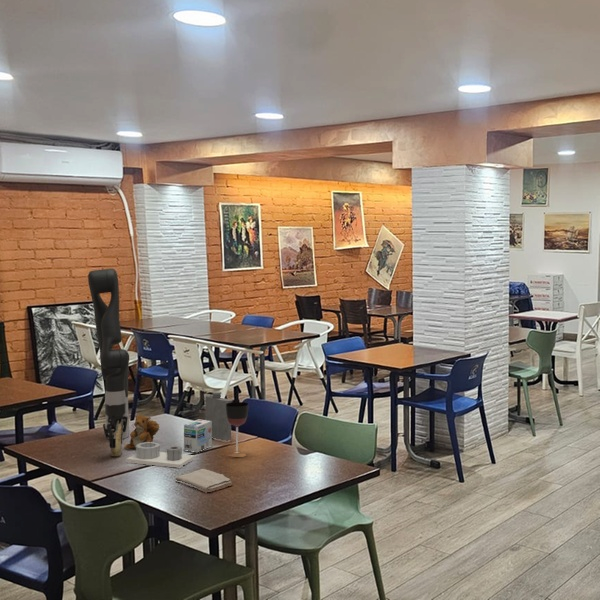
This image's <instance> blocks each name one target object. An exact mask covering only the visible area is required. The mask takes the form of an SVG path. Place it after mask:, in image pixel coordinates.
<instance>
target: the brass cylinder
mask: <svg viewBox="0 0 600 600" xmlns="http://www.w3.org/2000/svg"><path fill="white" fill-rule="evenodd" d="M111 430H115V429H111ZM112 435H113V432H112ZM115 438H116V447H115V448H110V456H111V457H119V456H121V455H122V445H121V423H119V425H118V430H117V432H116V437H115Z"/></svg>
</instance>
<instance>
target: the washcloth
mask: <svg viewBox="0 0 600 600" xmlns="http://www.w3.org/2000/svg"><path fill="white" fill-rule="evenodd" d="M174 480H177V481H182V482H185V483H188V484H191V485H193V486H196V487H198V488H201V489H204V490H209V489H213V488H217V487H220V486H223V485H225V484H229V483H231V484H233V483H232V482H233V481H231V478H228V477H226V476H225V475H224V474H222V473H218V472H215V471H213V470H209V469H206V468H201V469H197V470H195V471H192V472H190V473H185V474H182V475H181V474H180V475H178V476H176V477H175V479H174Z"/></svg>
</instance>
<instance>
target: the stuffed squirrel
mask: <svg viewBox="0 0 600 600" xmlns="http://www.w3.org/2000/svg"><path fill="white" fill-rule="evenodd" d="M151 418H152V417H151V416H145V415H141V414H140V415H138V414H136V415H135V421H134V422H133V424H131V427H132V428H133V429H134V430H133V431H131V432H130V433H129V436H130V440H129V443H127V444H125V446H124V449H125V450H132V449H136V445H137V444H139V443H144V442H154V438H155V437H154V436H156V434H158V431H160V424H159V423H158V422H157V421H156V420H151ZM134 427H135V428H134Z"/></svg>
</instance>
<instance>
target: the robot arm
mask: <svg viewBox="0 0 600 600" xmlns="http://www.w3.org/2000/svg"><path fill="white" fill-rule="evenodd" d="M87 274H88V276H87V277H88V278H87V282H88V287H89V292H90V296H91V300H92V301H91V302H92V306H93V307H92V308H93V313H94V321H95V322H94V323H95V324H94V325H95V331H96V336H97V341H98V347H99V357H100V358H99V362H100V372H101V377H102V379H103V380H104V381H105V394H104V404H105V405H104V413H105V423H103V425H102V428H103V432H104V436H105V438H106V439H107V440H108V441H109V444H108V445H109V448H110V449H111V448H115V447H116V438H115V437H116V432H117V430H118V425H119V423H121V446H122V445H123V440H125V439H126V438H128V437H129V436H130V413H129V373H130V365H129V363H130V354H129V352H128V350H126V349H123V348H121V349H119V348H118V349H113V347H114V346H115V345H118V344H120V343H122V340H123V338H122V330H121V329H122V328H121V323H120V322H121V321H120V289H119V288H120V287H119V286H120V283H119V276H118V273H117V271H116V269H114V268H105V269H94V270H90V271H89V272H88V273H87ZM107 293H110V301H109V303H108V305H107V304H106V302H105V301H104V299H102V296H101V294H107ZM111 429H115V430H111ZM112 432H113V435H112Z"/></svg>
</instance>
